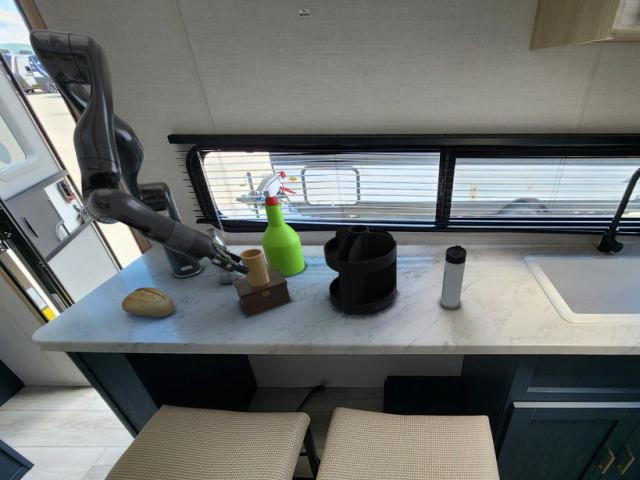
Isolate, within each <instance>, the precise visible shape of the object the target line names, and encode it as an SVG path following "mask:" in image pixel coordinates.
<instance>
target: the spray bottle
mask: <svg viewBox="0 0 640 480" xmlns="http://www.w3.org/2000/svg"><path fill="white" fill-rule="evenodd" d="M286 175H287V174H286V172H285V171H283V170H281V171H277V172H276V171H275V172H274V173H271V174H270V175H268V176H266V177H265V178H263V179H262V180H261V182H260V183H259V184H258V186H257V188H256V190H255V191H257V192H259V193H260V192H261V193H263V197H265V198H264V202H265V204H264V208H265V214H266V219H267V223H268V224H267V225H268V226H267V227H266V229H265V231H264V233H263V236H262V239H261V242H260V243H261V246H262V251H263V255H264V258H265V262H266V266H267V269H268V271H269V270H272V269H276V268H277V270H278V271H279V272H280V273H281V275H282V276H283V277H284V278H286V277H291V276H295V275H297V274H299V273H301V272H302V271H303V270H305V267H306V265H305V258H304V254H303V253H304V252H303V249H302V243H301V237H300V235H299V234H298V232H296V231H295V229H294V228H292V227H291V226H289V225H288V224H287V223H286V221H285V218H284V214H283V210H282V205H281V203H280V202H279V200H278V198H277V197H278V196H277V194H278V192H279V190H281V191H284V192H287V193H290V194H293V195H296V194H297V192H295V191H293V190H291V189H290V188H288V187H285V186H284V184H283V182H284V179H285V178H286Z"/></svg>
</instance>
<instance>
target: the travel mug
mask: <svg viewBox="0 0 640 480" xmlns="http://www.w3.org/2000/svg"><path fill="white" fill-rule="evenodd" d="M467 255H468V254H467V249H466V248H464V247H462V245H457V244H455V245H453V246H452V245H451V246H449V247H447V249H446V250H445V258H444V265H443V266H444V267H443V275H442V284H441V295H440V305H441V306H442V308H444V309H448V310H453V309H457V308H458V307H459V306H460V302H461V301H460V300H461V295H462V288H463V282H464V276H465V275H464V274H465V268H466V267H465V266H466V261H467Z"/></svg>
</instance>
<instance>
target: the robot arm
mask: <svg viewBox="0 0 640 480" xmlns="http://www.w3.org/2000/svg"><path fill="white" fill-rule="evenodd" d="M28 39H29V43H30V47H31V48H32V51H33V53H34V55H35V57H36V58H37V60H38V62H39V64H40V66H41V67H42V69H43V70H44V72H45V73H46V74H47V75H48V77H49V79H51V81H52V82H53V83H54V85H55V86H56V87H57V88H58V90H59V91H60V92H61V94H62V95H63V97H65V99H66V100H67V102H68V103H69V104H70V105H71V107H72V108H73V109H74V110H75V112H76V114H77V115H78V117H79V119H78V121H77V122H76V125H75V127H74V130H73V134H72V135H73V136H72V141H73V148H74V152H75V153H74V154H75V157H76V161H77V165H78V168H79V172H80V185H81V186H80V187H81V188H80V189H81V198H82V199H81V200H82V205H83V208H84V211H85V212H86V214H87V215H88V216H89V217H90V219H92V220H93V221H94V222H97V223H99V224H102V225H114V224H118V223H121V224H123V225H125V226H126V227H129V228H131V229H133V230H135V232H136V234H138V235H139V236H140V237H142V238H144V239H147V240H149V241H152V242H153V243H156V244H159V246H160V247H161V249H162V251H163V253H164V256H165V258H166V260H167V263H168V264H169V266H170V268H171V271H172V272H173V275H174V277H176V278H180V279H183V278H189V277H194V276H196V275H197V274H199V273H201V272H202V270H203V267H202V265H201V263H200V261H201V260H203V259H204V258H207V259H208V260H209V261H210V263H211V264H212V265H213V266H214V265H215V266H218V267H220V268H222V269H225V270H227V271H229V272H232V273H233V272H234V271H236V273H239V274H241V275H244V276H246V274H247V273H248V272H249V268H247V267H245V266H243V264H240V263H241V262H242V261H241V258H240V255H237V254H235V253H233V252H231V250H229V249H228V247H227V248H226V247H223V246H221V245H219V244H217V243H215V242H212V239H211V237H210V236H208V235H206V234H205V232H202V231H200V230H197V229H195V228H194V227H191V226H190V225H187V224H185V223H184V221H183V219H182V217H181V214H180V212H179V209H178V206H177V203H176V201H175V198H174V194H173V192H172V190H171V188H170V186H169V185H168V184H167V183H166V182H165V181H154V182H153V181H152V182H145V183H143V182H142V183H139V182H138V180H139V174H140V171H141V169H142V166H143V164H144V160H145V150H144V147H143V145H142V143H141V141H140V139H139V137H138V135H137V134H136V132H135V130H134V129H133V127H132V126H131V125H130V124H129V123H128V122H127V121H125V120H124V119H123V118H122V117H121V116H119V115H118V114H116V113H115V112H114V110H115V109H114V91H113V90H114V89H113V77H112V70H111V66H110V62H109V60H108V57H107V55H106V53H105V51H104V49H103V48H102V45H101V44H100V43H99V42H98V41H97V40H96V39H95V38H94V37H93V36H91V35H88V34H83V33H78V32H71V31H63V30H62V31H61V30H56V29H55V30H54V29H42V28H35V29H32V30H30V32H29V34H28ZM85 86H90V92H89V91H88V90H87V88H85ZM120 181H121V182H122V184H123V186H124V187H125V189H126V191H127V192H126V191H123V190H121V188H120ZM160 212H167V213H166V214H165V215H164V214H162V213H160ZM226 249H227V250H226ZM228 264H230V265H231V267H230V266H228Z"/></svg>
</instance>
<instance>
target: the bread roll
mask: <svg viewBox="0 0 640 480" xmlns="http://www.w3.org/2000/svg"><path fill="white" fill-rule="evenodd" d="M121 308H122V310H123V312H125V313H126V314H130V315H137V316H144V317H151V318H164V317H167V316H169V315H171V314H172V313H173V311H174V309H175V305H174V301H173V299H172V298H171V297H170V296H169V295H168V294H167V293H166V292H165V291H163V290H162V289H159V288H157V287H148V286H146V287H145V286H143V287H138V288H136V289H135V290H133V291H132V292H130V293H128V294H127V296H125V297H124V299H123V300H122V302H121Z"/></svg>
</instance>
